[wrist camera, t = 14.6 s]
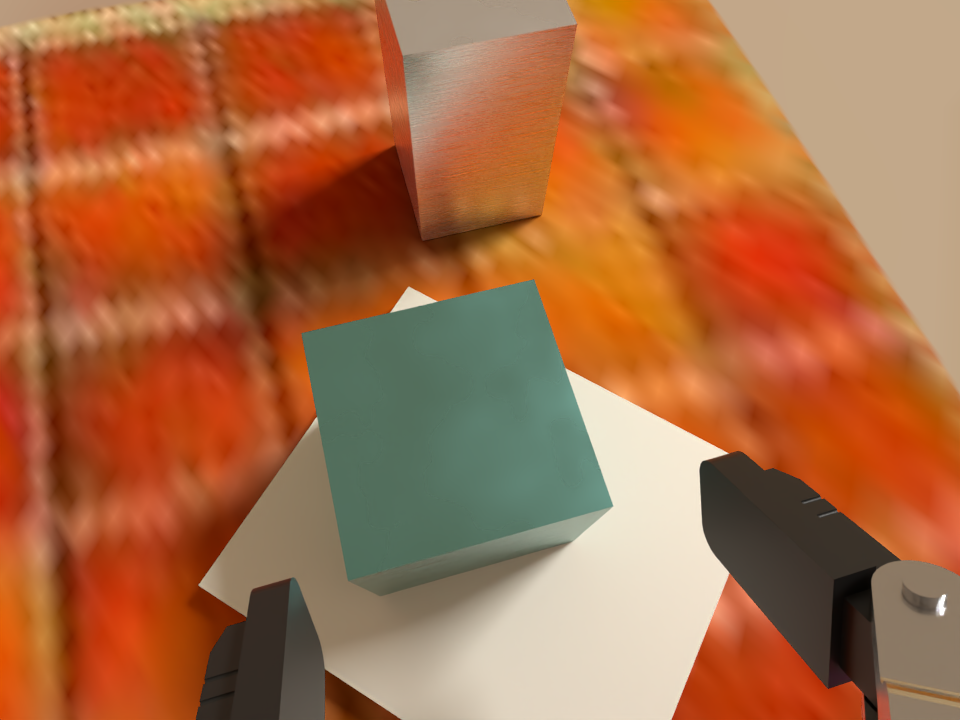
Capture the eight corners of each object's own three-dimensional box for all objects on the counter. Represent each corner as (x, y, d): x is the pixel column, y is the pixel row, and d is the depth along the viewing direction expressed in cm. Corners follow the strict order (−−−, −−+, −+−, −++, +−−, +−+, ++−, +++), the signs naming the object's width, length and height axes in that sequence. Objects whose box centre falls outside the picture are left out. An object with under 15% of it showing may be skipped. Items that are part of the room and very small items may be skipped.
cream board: (210, 587, 21) (198, 585, 20) (410, 299, 25) (408, 286, 24) (607, 849, 18) (615, 860, 17) (756, 480, 22) (768, 474, 22)
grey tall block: (422, 240, 26) (402, 55, 18) (395, 144, 28) (365, -65, 20) (541, 214, 27) (577, 24, 18) (507, 122, 28) (525, -90, 20)
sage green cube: (380, 596, 20) (347, 580, 14) (341, 408, 22) (301, 333, 17) (573, 540, 21) (613, 506, 15) (517, 365, 23) (534, 279, 17)
